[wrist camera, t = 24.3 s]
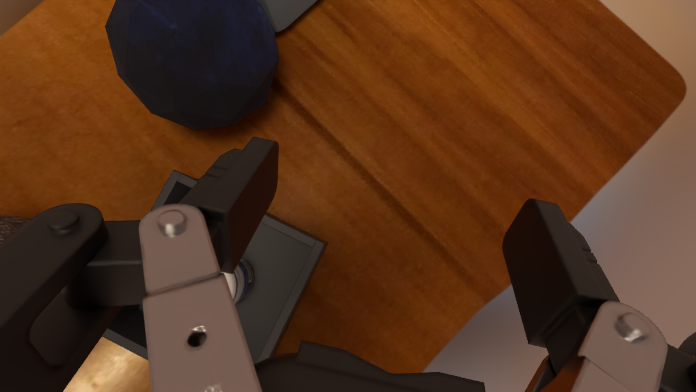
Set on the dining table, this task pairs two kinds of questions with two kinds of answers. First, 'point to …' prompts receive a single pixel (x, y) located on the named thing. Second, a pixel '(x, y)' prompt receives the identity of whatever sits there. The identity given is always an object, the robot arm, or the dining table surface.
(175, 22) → the decorative orb
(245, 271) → the pill bottle
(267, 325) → the bin
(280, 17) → the grey rounded cube box
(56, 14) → the dining table surface
